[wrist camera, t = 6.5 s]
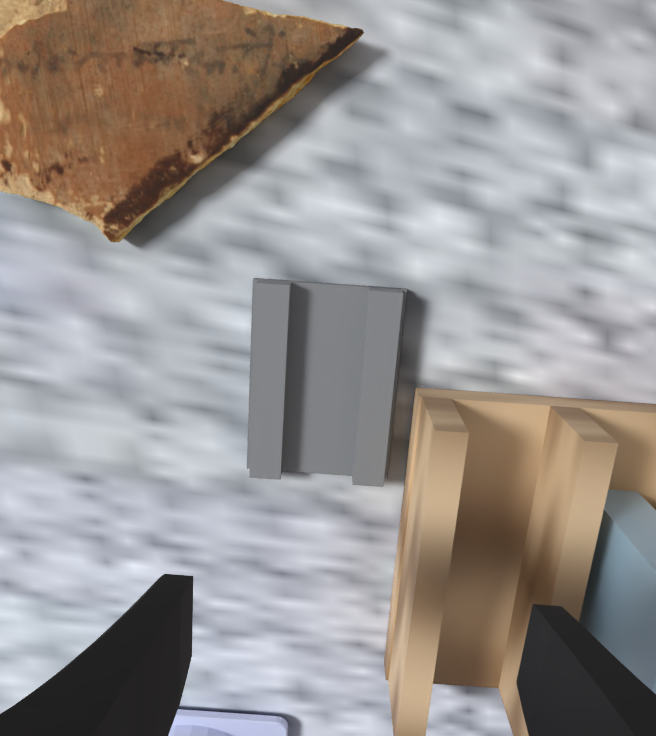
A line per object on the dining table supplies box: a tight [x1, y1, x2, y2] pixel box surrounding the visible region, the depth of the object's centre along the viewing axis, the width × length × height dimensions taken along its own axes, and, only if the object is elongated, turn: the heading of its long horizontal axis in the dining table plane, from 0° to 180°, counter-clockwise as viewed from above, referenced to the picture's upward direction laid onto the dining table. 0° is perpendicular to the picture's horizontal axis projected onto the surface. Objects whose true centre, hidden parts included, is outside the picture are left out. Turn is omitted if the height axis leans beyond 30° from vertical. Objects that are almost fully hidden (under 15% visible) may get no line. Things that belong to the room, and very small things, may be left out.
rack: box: [384, 387, 656, 736], centre depth 21 cm, size 12×14×4 cm
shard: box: [0, 0, 364, 242], centre depth 19 cm, size 11×8×2 cm
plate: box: [579, 489, 656, 694], centre depth 19 cm, size 6×2×6 cm, turn 176°
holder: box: [247, 278, 407, 487], centre depth 21 cm, size 7×5×1 cm
